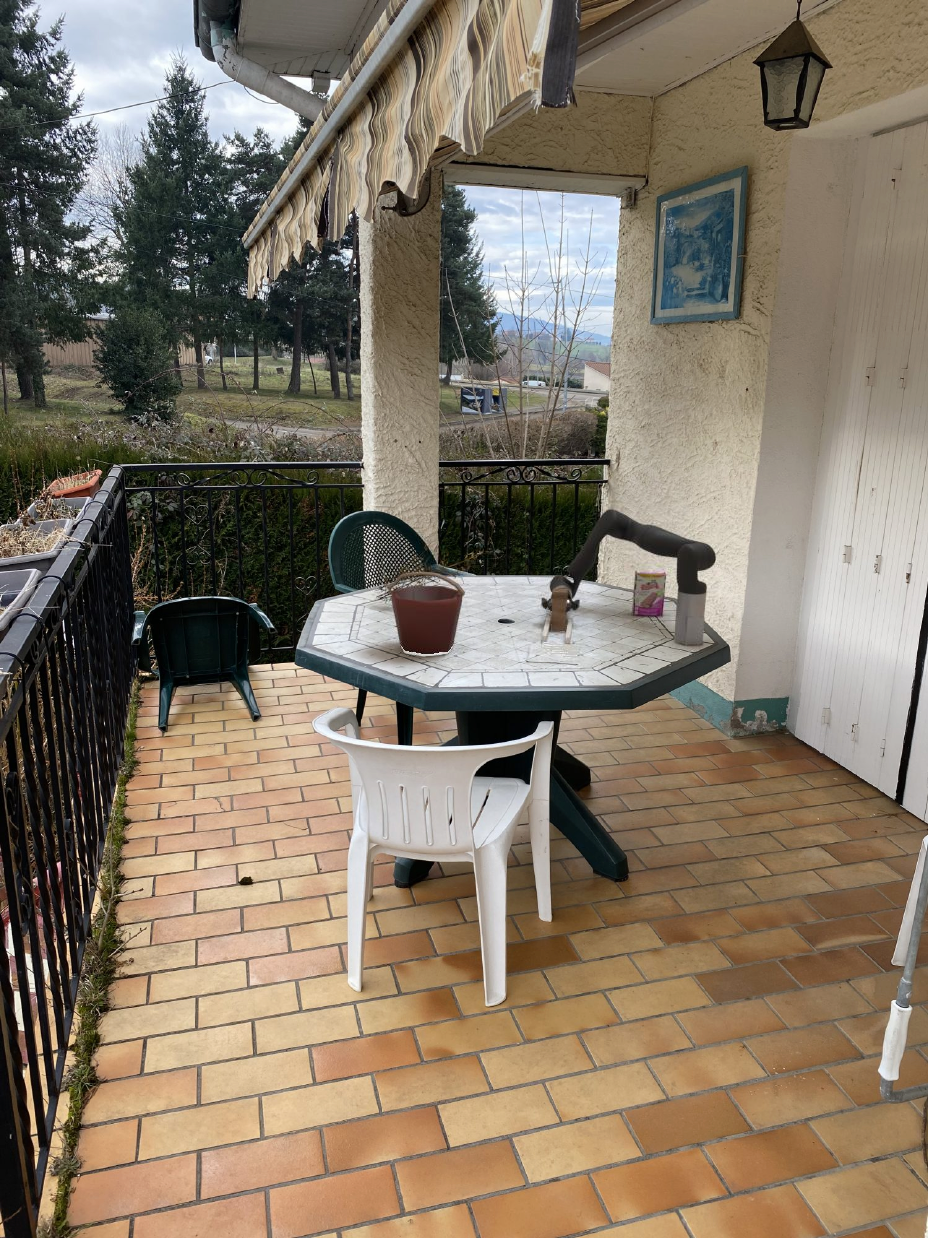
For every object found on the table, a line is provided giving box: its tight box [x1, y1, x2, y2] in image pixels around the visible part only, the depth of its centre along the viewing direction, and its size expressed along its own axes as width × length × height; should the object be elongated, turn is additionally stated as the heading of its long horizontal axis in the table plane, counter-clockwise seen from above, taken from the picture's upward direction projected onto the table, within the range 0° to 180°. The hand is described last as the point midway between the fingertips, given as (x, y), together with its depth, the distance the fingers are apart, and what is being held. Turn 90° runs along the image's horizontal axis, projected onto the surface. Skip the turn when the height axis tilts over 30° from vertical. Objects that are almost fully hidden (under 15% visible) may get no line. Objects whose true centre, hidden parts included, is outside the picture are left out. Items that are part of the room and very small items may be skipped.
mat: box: [543, 642, 581, 662], centre depth 285 cm, size 20×16×1 cm
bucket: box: [386, 571, 466, 654], centre depth 285 cm, size 24×22×25 cm
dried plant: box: [373, 542, 489, 604], centre depth 333 cm, size 30×31×45 cm
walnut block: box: [550, 589, 568, 632], centre depth 311 cm, size 5×5×14 cm
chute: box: [541, 616, 574, 645], centre depth 308 cm, size 26×9×2 cm, turn 171°
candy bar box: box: [631, 569, 667, 617], centre depth 332 cm, size 11×5×16 cm, turn 84°
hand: (559, 609), depth 308 cm, fingers closed on walnut block, 5 cm apart
